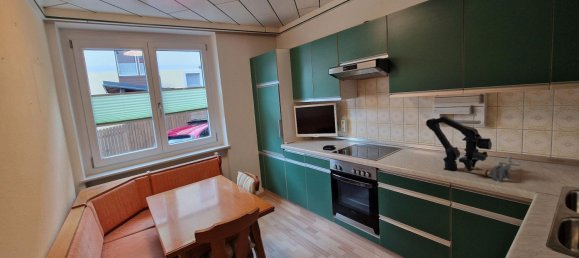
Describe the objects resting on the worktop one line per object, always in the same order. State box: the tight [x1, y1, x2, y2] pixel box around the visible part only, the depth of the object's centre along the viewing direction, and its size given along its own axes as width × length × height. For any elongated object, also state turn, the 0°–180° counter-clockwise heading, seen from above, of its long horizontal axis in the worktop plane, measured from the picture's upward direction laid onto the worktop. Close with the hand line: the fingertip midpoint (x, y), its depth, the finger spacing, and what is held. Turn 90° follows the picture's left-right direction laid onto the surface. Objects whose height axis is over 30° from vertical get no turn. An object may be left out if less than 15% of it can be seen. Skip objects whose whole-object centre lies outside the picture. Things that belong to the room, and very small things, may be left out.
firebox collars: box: [491, 163, 510, 183], centre depth 153 cm, size 4×11×8 cm, turn 121°
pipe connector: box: [498, 155, 521, 172], centre depth 164 cm, size 10×10×10 cm
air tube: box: [463, 165, 493, 179], centre depth 163 cm, size 16×4×4 cm, turn 31°
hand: (470, 170), depth 167 cm, fingers closed on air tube, 4 cm apart
